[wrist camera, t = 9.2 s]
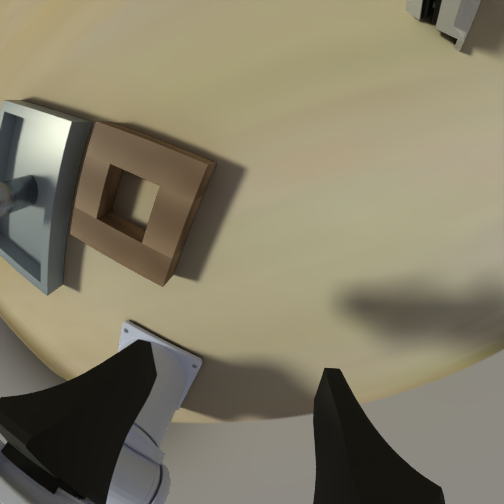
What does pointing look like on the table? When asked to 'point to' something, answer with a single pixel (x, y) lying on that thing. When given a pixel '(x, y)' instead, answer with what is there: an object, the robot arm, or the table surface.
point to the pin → (17, 194)
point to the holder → (164, 209)
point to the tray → (40, 187)
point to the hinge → (447, 15)
